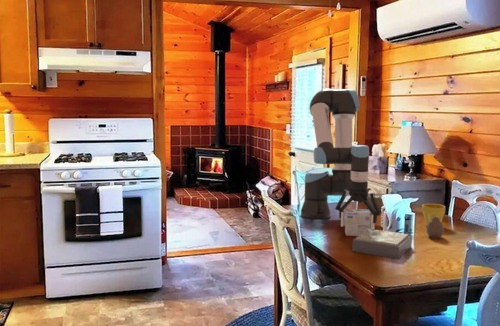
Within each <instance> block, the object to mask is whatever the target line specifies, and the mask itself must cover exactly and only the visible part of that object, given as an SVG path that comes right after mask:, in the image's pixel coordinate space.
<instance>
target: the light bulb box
mask: <svg viewBox="0 0 500 326" xmlns="http://www.w3.org/2000/svg"><path fill="white" fill-rule="evenodd" d="M344 211H345V225H344V233H345V237H348V236H351V237H353V236H354V237H358V236H359V235H361V234H362V233H364V232H365V231H367V230H368V229H371V216H372V213H371V212H370V210H369V209H360V208H359V209H356V208H355V209H354V208H351V209H350V208H345V209H344Z"/></svg>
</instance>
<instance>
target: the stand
mask: <svg viewBox="0 0 500 326" xmlns="http://www.w3.org/2000/svg"><path fill="white" fill-rule="evenodd" d="M411 247H412V235H409V234H407V233H403V232H402V233H401V232H395V231H386V230H381V229H375V228H374V229H371V228H370V229H368V230H367V231H365V232H364V233H362V234H361V235H359V236H355V238H353V239H352V252H355V253H360V254H361V253H362V254H366V255H372V256H378V257H384V258H390V259H396V260H399V259H401V257H403V256H404V255H405V254H406V253H407V252H408V251H409V250H410V249H411Z"/></svg>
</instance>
